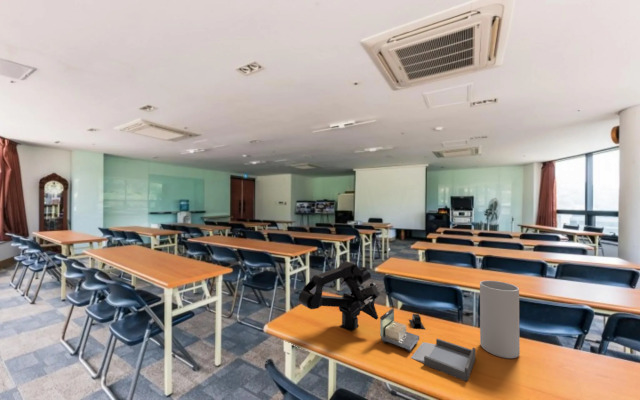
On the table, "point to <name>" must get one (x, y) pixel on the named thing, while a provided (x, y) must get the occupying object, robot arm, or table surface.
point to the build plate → (416, 322)
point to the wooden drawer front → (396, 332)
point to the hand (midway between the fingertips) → (377, 318)
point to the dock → (447, 358)
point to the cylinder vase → (499, 318)
